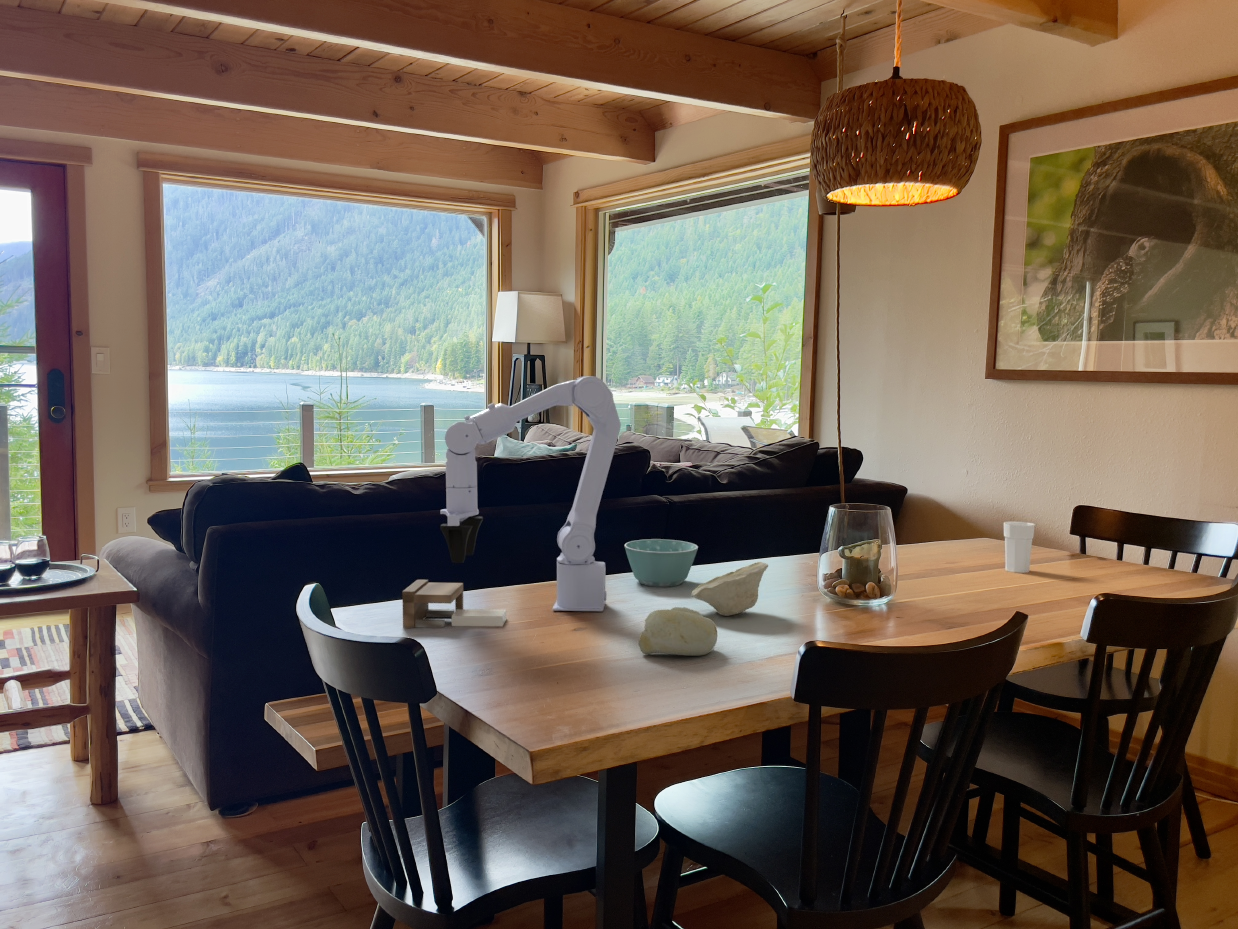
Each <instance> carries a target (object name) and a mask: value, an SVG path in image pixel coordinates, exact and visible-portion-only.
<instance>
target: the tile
mask: <svg viewBox="0 0 1238 929" xmlns="http://www.w3.org/2000/svg"><path fill="white" fill-rule="evenodd" d="M506 621H507V609H482V608H481V609H476V608H475V609H470V608H469V609H466V608H465V609H464V608H463V609H457V610H456V611H455V610H454V614H453V615H452V617H451V626H452V627H504V624H505V622H506Z"/></svg>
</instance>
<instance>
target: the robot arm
mask: <svg viewBox="0 0 1238 929" xmlns="http://www.w3.org/2000/svg"><path fill="white" fill-rule="evenodd" d="M555 406H561V407H562V406H565V407H568V406H569V407H574V406H575V407H576V408H577V409H578V410H580V411H581V412H582V413H583V414H584V415H585V416H586V419H587V420H588V422H589V423H590V425H591V426H592V429H593V432H592V435H591V439H590V443H589V445H588V446H589V447H588V449H587V454H586V457H585V461H584V464H583V468H582V471H581V475H580V478H579V481H578V486H577V490H576V493H575V495H574V498H573V499H574V500H573V504H572V507H571V509H570V511H569V514H568V515H567V517H566V518H567V519H566V522H565V523H564V524H563V526H562V527H561V528H560V530H559V531H558V532H557V538H556V541H557V545H558V548H559V549H560V550H561V552H560V555H559V556H558V557H556V601H555V603H554V604H553V606H552V611H554V612H555V611H557V612H559V611H561V612H562V611H563V612H565V611H567V612H603V611H604V609H605V605H606V603H607V602H606V601H607V591H606V562H604V561H596V560H595V557H594V553H595V550H596V543H595V532H596V527H597V526H596V524H597V514H598V511H599V506H600V504H601V503H600V502H601V499H602V495H603V491H604V489H605V485H606V482H607V478H608V474H609V470H610V467H611V463H612V460H613V457H614V453H615V448H616V446H617V441H618V438H619V435H620V433H621V421H620V417H619V413H618V411H617V407H616V403H615V401H614V394H613V392H612V391H611V390H610V388H609V386H607V384H606V383H605V381H604V380H602V379H601V378H599V377H597V376H592V375H590V376H587V375H585V376H580V377H577V378H576V379H573V380H571V379H570V380H568V381H564V382H559V383H557V384H554V385H552V386H550V387H547V388H546V389H544V390H541V391H539V392H537V393H535V394H532V395H531V396H529V397H526V398H524V399H523V400H521V401H519V402H517V403H514V404H512V405H507V404H506V403H505V404H504V403H502V402H500V403H497V404H495V403H494V402H491V403H489V404H488V405H487V408H486V409H483V410H481V411H480V412H478V413H476V414H472V415H471V416H470V414H467V415H464V417H463V418H464V421H457V422H454V423H452V424H451V425H450V426H448V428H447V429H446V431H445V436H444V442H445V445H446V447H447V448H446V452H445V458H446V461H445V488H446V489H445V491H446V493H445V494H446V499H445V500H446V505H445V506H446V508H443V509H440V513H439V514H440V515H445V516H446V517H447V523H442V524H440V531H441V533H442V534H443V537H444V540H445V541H446V544H447V547H448V551H449V556H450V560H451V563H452V564H462V563H463V564H464V562H465V560H466V556H473V555H474V553H475V549H476V548H475V547H476V543H477V542H476V541H477V537H478V532H479V530H480V527H481V525H482V522H483V520H484V517H483V516H478V515H479V513H480V511H479V509H478V462H477V461H476V449H475V448H476V447H477V445H479V444H480V445H485V444H488V443H490V442H491V441H493V440H496V439H498V438H501V437H503V436H505V435H508V434H510V433H512V432H514V430H515V427H516V425H517V423H518V422H519V421H521V420H523V419H526V418H528V417H531V416H534V415H536V414H538V413H540V412H542V411H543V412H544V411H546V410H548V409H550V408H552V407H555Z"/></svg>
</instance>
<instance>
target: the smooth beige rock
mask: <svg viewBox="0 0 1238 929" xmlns="http://www.w3.org/2000/svg"><path fill="white" fill-rule="evenodd" d="M644 622H645V623H644V630H643V631H642V632H641V633H640V635H639V639H638V647H639V650H640V652H641V654H643V655H645V656H649V655H653V654H665V655H677V656H690V657H691V656H693V657H694V656H695V657H697V656H698V657H699V656H700V657H701V656H705V655H707V654H709V653H710V652H712V650H714V648H715V646H716V644H717V641H718V629H717V625H716V623H715V622H714V620H712V619H711V618H708V617H705V616H703V614H702V613H700V612H699V611H697V610H694V609H691V608H688V607H678V606H677V607H676V606H675V607H672V608H670V609H657V610H653V611H651V612H650V613H648V615H647V617H646V618H645V620H644Z"/></svg>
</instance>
